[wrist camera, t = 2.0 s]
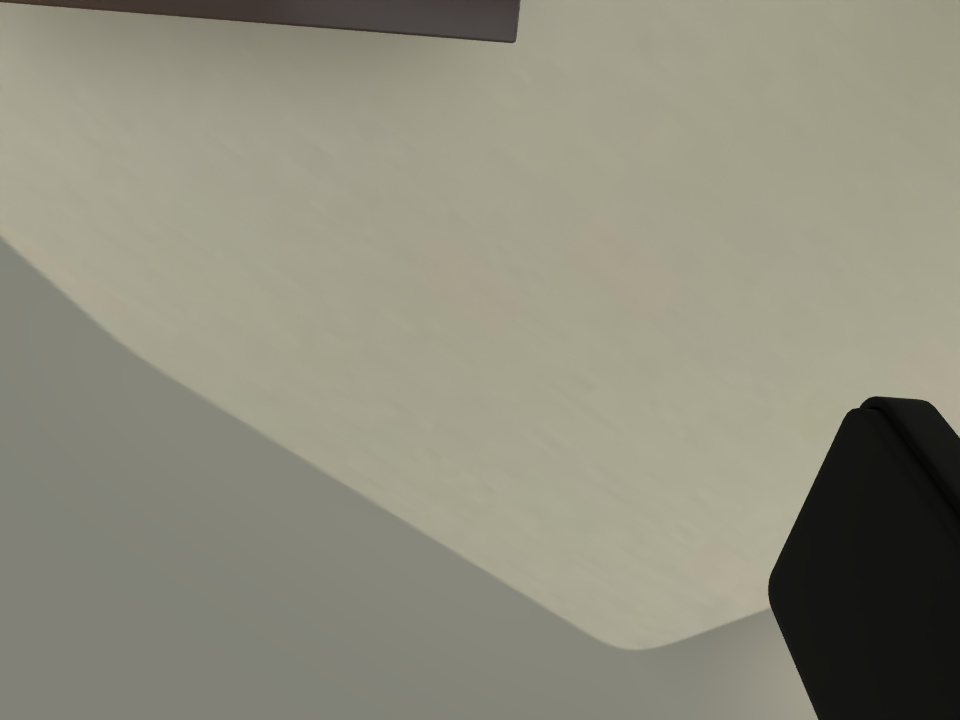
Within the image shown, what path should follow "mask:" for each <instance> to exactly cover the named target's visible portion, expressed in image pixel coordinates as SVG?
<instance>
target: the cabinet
mask: <svg viewBox="0 0 960 720" xmlns="http://www.w3.org/2000/svg"><path fill="white" fill-rule="evenodd" d="M520 1H521V0H0V2H5V3H17V4H30V5H42V6H55V7H67V8H80V9H92V10H105V11H117V12H130V13H142V14H155V15H167V16H180V17H192V18H205V19H217V20H230V21H242V22H255V23H267V24H280V25H292V26H305V27H317V28H330V29H342V30H354V31H367V32H379V33H392V34H404V35H417V36H429V37H442V38H454V39H467V40H479V41H492V42H504V43H514V42H515V41H516V36H517V27H518V18H519V9H520Z"/></svg>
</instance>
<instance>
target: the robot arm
mask: <svg viewBox="0 0 960 720" xmlns="http://www.w3.org/2000/svg"><path fill="white" fill-rule="evenodd" d="M768 595H769V601H770V605H771V608H772V611H773V613H774V616H775V618H776V620H777V623H778V625H779V627H780V630H781V632H782V634H783V637H784V639H785V642H786V644H787V646H788V649H789V651H790V653H791V656H792V658H793V661H794V663H795V665H796V668H797V670H798V672H799V675H800V677H801V679H802V682H803V684H804V687H805V689H806V691H807V694H808V696H809V698H810V701H811V703H812V705H813V707H814V710H815V712H816V715H817V717H818V720H960V438H959V437H958V435H957V434H956V433H955V432H954V430H953V429H952V428H951V427H950V425H949V424H948V423H947V422H946V421H945V419H944V418H943V417H942V416H941V414H940V413H939V412H938V411H937V409H936V408H935V407H934V406H933V405H931V404H930V403H929V402H927V401H924V400H918V399H905V398H892V397H878V396H875V397H871V398H868V399H867V400H866V401H864V402H863V403H862V405H861V406H860V408H856V409H852V410H851V411H849V412H848V413H847V414H846V416H845V418H844V419H843V421H842V423H841V426H840V428H839V430H838V432H837V434H836V436H835V438H834V441H833V443H832V445H831V447H830V449H829V451H828V453H827V455H826V458H825V460H824V462H823V464H822V466H821V468H820V470H819V472H818V475H817V477H816V479H815V481H814V483H813V485H812V487H811V490H810V492H809V494H808V496H807V498H806V500H805V502H804V504H803V507H802V509H801V511H800V513H799V515H798V517H797V519H796V521H795V524H794V526H793V528H792V530H791V532H790V534H789V536H788V539H787V541H786V543H785V545H784V547H783V549H782V551H781V553H780V556H779V558H778V560H777V562H776V564H775V566H774V568H773V570H772V573H771V576H770V579H769V585H768Z"/></svg>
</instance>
